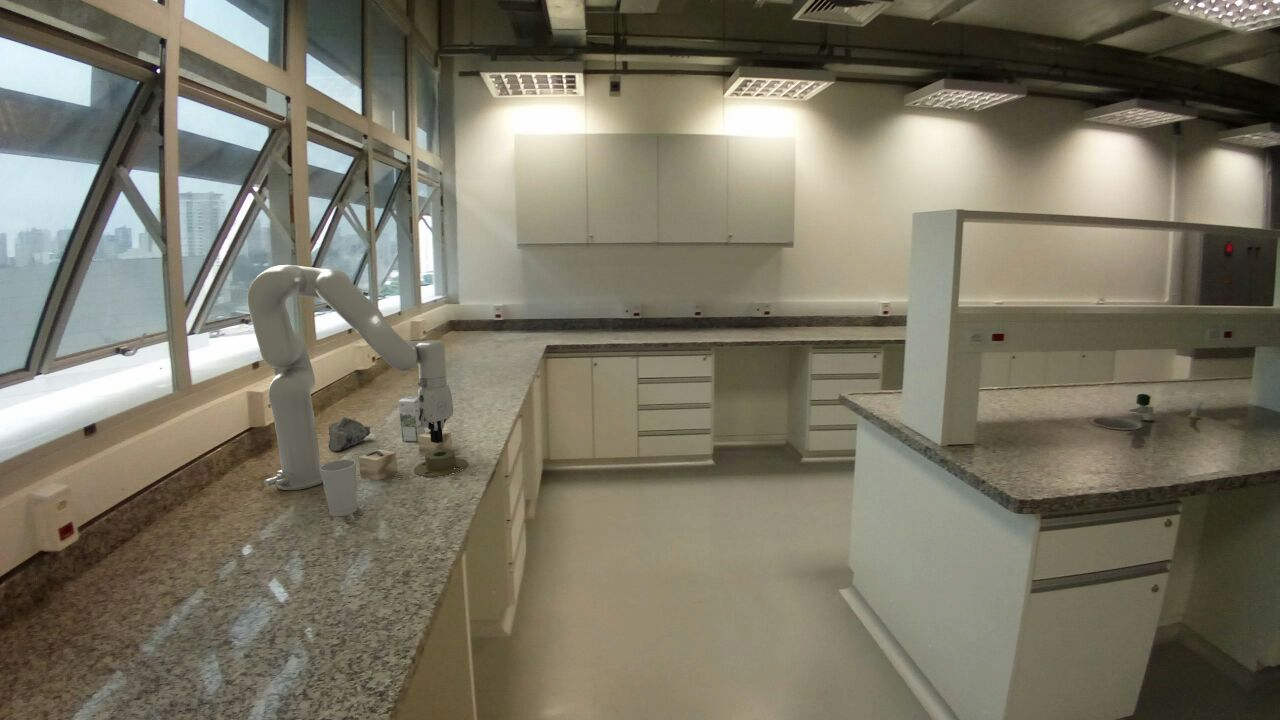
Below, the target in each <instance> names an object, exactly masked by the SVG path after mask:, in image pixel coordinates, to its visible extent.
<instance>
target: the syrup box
mask: <svg viewBox="0 0 1280 720" xmlns="http://www.w3.org/2000/svg"><path fill="white" fill-rule="evenodd" d="M398 410H399V411H398V412H399V419H400V428H401V429H400V430H401V440H402V442H408V443H410V442H413V443H415V442H416V443H419V441H418V435H421V434H424V433H426V430H425V427H421V426H420V424H421V421H419V418H418V396H404V397H402V398H401V399H399V400H398Z"/></svg>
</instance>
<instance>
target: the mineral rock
mask: <svg viewBox="0 0 1280 720" xmlns="http://www.w3.org/2000/svg"><path fill="white" fill-rule="evenodd" d="M370 430H371V427H370V426H367V425H366V426H365V425H364V424H363V423H362V422H359V421H357V420H355V419H352V418H347V417H346V416H345V417H343V418H341V419H340V420H338V421H336V422H333V423H330V424H329V425H328V435H329V440H328V448H329V450H331V451H332V452H338V451H339V452H341V450H344V449H348V448H349V447H351V446H355V445H356V444H358V443H359V444H360V443H361V442H363V441H364V440H365V438H367V437H368V436H369V435H370V434H371V431H370Z"/></svg>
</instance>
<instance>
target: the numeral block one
mask: <svg viewBox="0 0 1280 720" xmlns="http://www.w3.org/2000/svg"><path fill="white" fill-rule="evenodd" d="M442 437H443V442H440V443H434V442H431V435H430V430H429V431H427V432H426V431H425V433H424V434H421V435H418V450H419V454H420V453H423V454H422V455H425V454H427V453H428V452H431V451H434V450H439V449H452V450H453V443H452V440H453V439H452V432H451V431H448V430H442Z"/></svg>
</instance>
